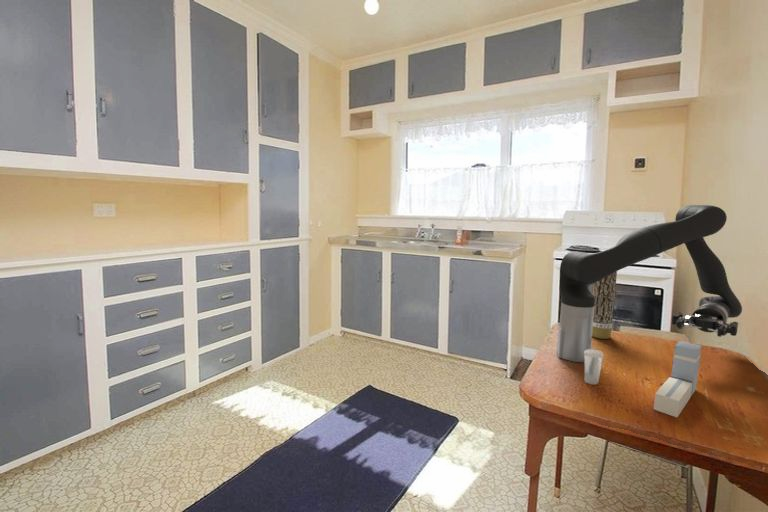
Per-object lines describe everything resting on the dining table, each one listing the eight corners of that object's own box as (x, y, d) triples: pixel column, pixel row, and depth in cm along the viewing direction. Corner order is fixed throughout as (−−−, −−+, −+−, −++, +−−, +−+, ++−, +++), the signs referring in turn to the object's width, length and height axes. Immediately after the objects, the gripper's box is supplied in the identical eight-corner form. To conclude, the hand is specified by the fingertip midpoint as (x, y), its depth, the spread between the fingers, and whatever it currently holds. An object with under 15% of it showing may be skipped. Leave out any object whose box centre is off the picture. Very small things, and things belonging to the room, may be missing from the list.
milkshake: (598, 378, 105) (601, 343, 103) (602, 387, 100) (605, 350, 98) (579, 375, 106) (582, 341, 105) (583, 384, 101) (586, 348, 100)
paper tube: (585, 333, 141) (591, 267, 138) (602, 333, 142) (608, 267, 138) (597, 340, 135) (603, 270, 131) (615, 339, 135) (621, 270, 132)
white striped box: (669, 389, 98) (671, 374, 98) (691, 396, 95) (693, 380, 95) (653, 409, 89) (655, 392, 88) (677, 417, 86) (679, 400, 85)
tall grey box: (674, 383, 102) (679, 340, 100) (696, 389, 99) (701, 345, 97) (669, 389, 99) (674, 345, 97) (691, 396, 95) (697, 350, 94)
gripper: (682, 300, 119) (668, 310, 109) (743, 309, 109) (735, 321, 98) (679, 323, 120) (666, 335, 110) (740, 334, 110) (732, 349, 99)
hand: (699, 329), depth 104 cm, fingers open, 8 cm apart
